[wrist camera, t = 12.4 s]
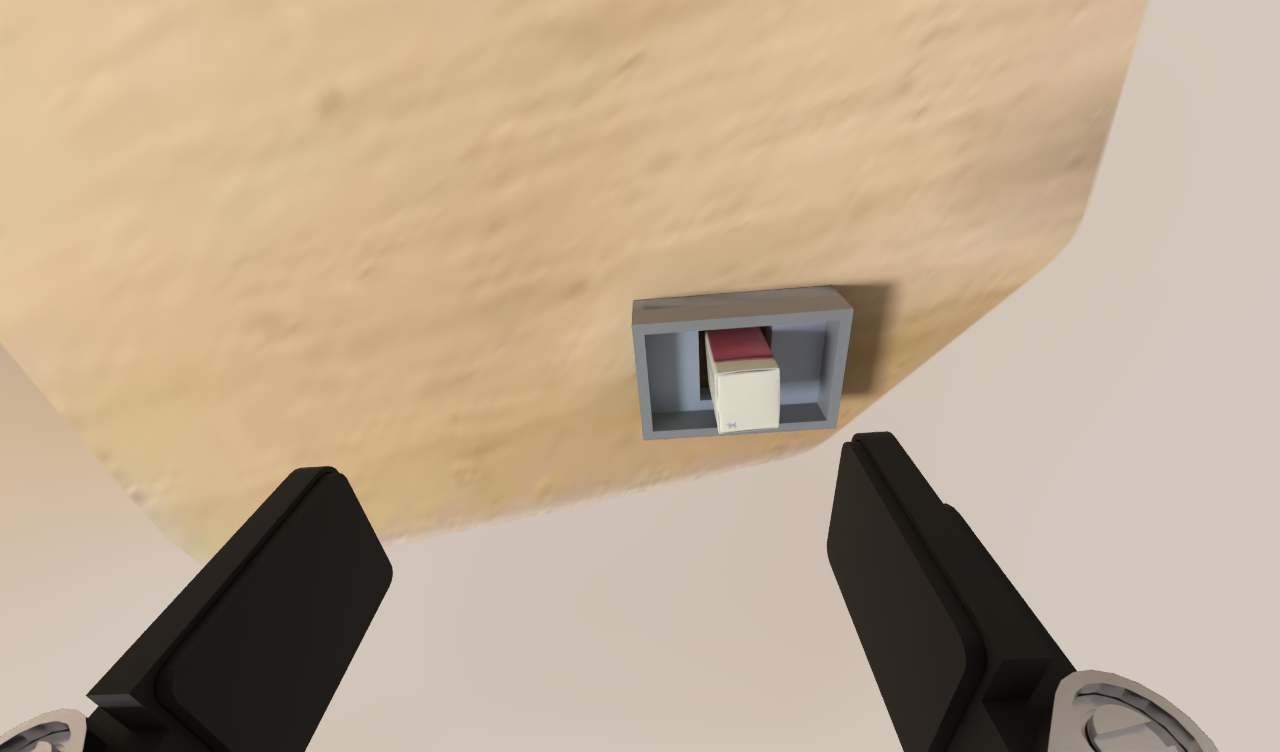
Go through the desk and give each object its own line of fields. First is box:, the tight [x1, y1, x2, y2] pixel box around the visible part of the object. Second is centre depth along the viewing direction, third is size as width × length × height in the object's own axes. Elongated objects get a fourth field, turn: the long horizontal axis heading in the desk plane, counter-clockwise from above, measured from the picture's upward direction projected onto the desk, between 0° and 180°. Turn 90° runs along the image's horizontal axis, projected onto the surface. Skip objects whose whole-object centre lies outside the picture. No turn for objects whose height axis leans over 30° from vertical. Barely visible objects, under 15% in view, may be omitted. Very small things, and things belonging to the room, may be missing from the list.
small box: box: [704, 326, 780, 434], centre depth 36 cm, size 5×4×8 cm
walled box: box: [632, 285, 854, 440], centre depth 38 cm, size 15×10×4 cm, turn 95°
